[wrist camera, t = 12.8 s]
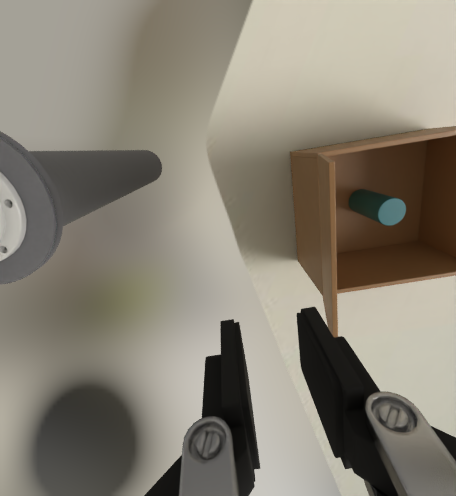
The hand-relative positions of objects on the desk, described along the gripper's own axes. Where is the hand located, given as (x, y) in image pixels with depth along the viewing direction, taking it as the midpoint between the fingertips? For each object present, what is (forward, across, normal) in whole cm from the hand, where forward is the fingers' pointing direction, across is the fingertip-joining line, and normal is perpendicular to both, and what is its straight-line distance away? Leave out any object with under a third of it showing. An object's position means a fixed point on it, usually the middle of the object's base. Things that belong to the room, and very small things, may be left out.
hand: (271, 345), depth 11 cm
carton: (+21, -14, 0) cm, 25 cm away
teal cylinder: (+21, -14, 0) cm, 25 cm away
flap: (+9, -6, 0) cm, 10 cm away
